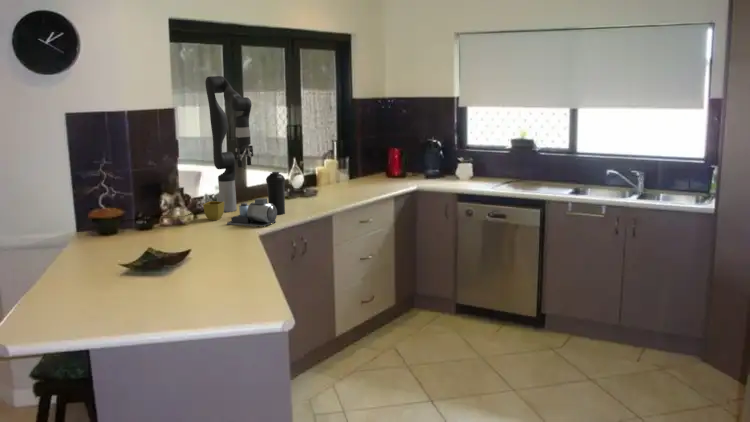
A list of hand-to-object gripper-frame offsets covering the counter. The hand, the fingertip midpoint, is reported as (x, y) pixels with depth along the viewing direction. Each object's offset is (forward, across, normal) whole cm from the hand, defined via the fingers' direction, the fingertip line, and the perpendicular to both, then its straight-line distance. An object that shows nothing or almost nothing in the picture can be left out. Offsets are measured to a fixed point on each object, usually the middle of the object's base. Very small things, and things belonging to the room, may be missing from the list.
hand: (244, 166), depth 373 cm
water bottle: (+28, -14, +10) cm, 33 cm away
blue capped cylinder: (+27, +12, +6) cm, 30 cm away
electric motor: (+28, +12, +11) cm, 32 cm away
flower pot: (+28, +9, -15) cm, 33 cm away
